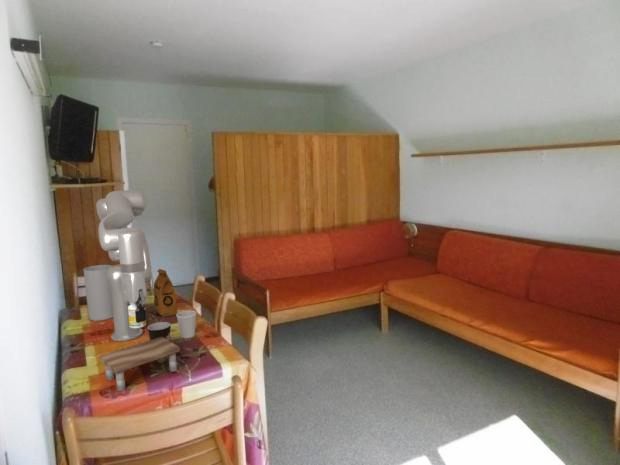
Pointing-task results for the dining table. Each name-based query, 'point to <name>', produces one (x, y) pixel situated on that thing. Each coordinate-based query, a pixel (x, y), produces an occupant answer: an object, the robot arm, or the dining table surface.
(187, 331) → the dixie cup
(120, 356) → the small wooden riser
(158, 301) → the coffee package
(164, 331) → the coffee mug
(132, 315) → the supplement bottle
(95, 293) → the cylinder vase
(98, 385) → the dining table surface
